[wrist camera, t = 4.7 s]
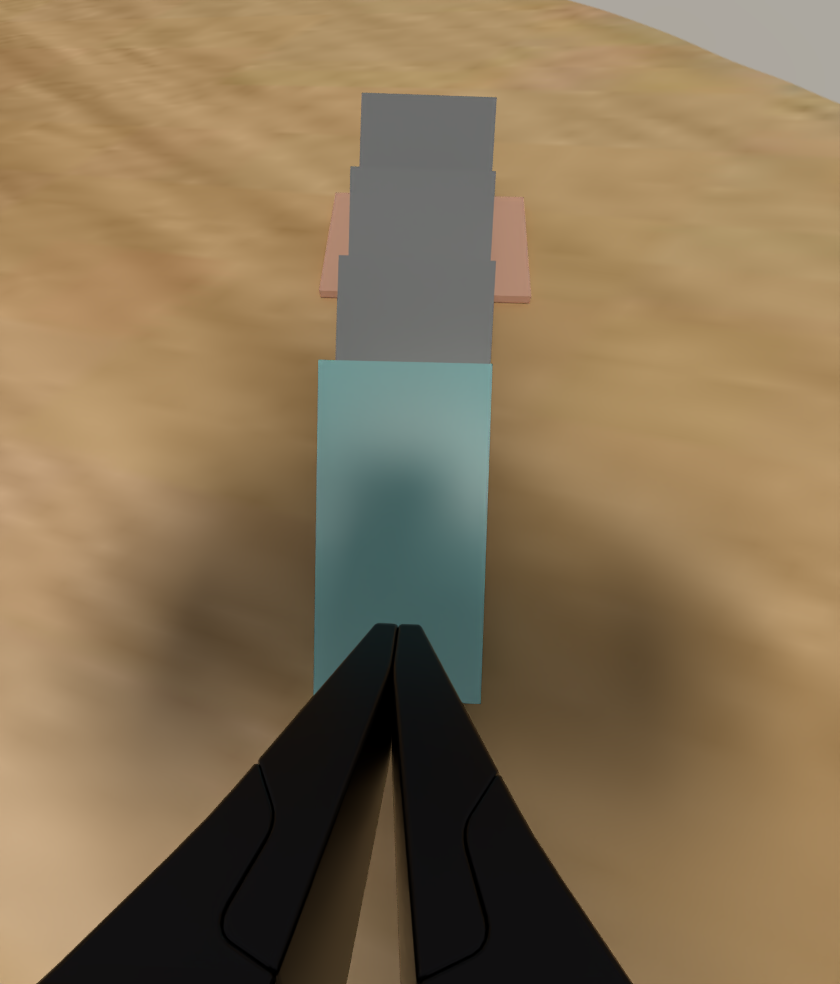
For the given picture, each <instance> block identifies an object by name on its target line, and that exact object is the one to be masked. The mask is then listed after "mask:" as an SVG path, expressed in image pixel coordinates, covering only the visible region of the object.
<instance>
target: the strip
mask: <svg viewBox="0 0 840 984" xmlns="http://www.w3.org/2000/svg"><path fill="white" fill-rule="evenodd" d="M349 212H350V193H335V199H334V205H333V211H332V217H331V223H330V229H329V235H328V241H327V247H326V252H325V258H324V264H323V270H322V276H321V282H320V288H319V292H320V296H321V297H333V298H337V295H338V261H339V255H349ZM491 261H496V271H495V289H494V302H510V303H529V302H530V299H531V287H530V274H529V261H528V248H527V235H526V222H525V209H524V197H497V196H494V211H493V228H492V246H491Z"/></svg>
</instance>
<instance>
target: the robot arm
mask: <svg viewBox="0 0 840 984" xmlns="http://www.w3.org/2000/svg"><path fill="white" fill-rule="evenodd" d="M391 745H392V781H393V807H394V832H395V857H396V883H397V908H398V934H399V959H400V984H633V983H632V982H631V980H630V979H629V977H628V976H627V974H626V973H625V971H624V970H623V968H622V967H621V965H620V964H619V963H618V961H617V960H616V958H615V957H614V955H613V954H612V952H611V951H610V949H609V948H608V946H607V945H606V943H605V942H604V940H603V939H602V937H601V936H600V934H599V933H598V931H597V930H596V928H595V927H594V926H593V924H592V923H591V921H590V920H589V918H588V917H587V915H586V914H585V912H584V911H583V909H582V908H581V906H580V905H579V903H578V902H577V900H576V899H575V897H574V896H573V894H572V893H571V892H570V890H569V889H568V887H567V886H566V884H565V883H564V881H563V880H562V878H561V877H560V875H559V874H558V872H557V870H556V869H555V867H554V866H553V864H552V863H551V861H550V860H549V858H548V856H547V855H546V853H545V852H544V850H543V849H542V847H541V846H540V844H539V842H538V841H537V839H536V838H535V836H534V835H533V833H532V831H531V829H530V828H529V826H528V824H527V822H526V820H525V819H524V817H523V815H522V813H521V812H520V810H519V808H518V806H517V805H516V803H515V801H514V799H513V798H512V796H511V794H510V792H509V790H508V788H507V786H506V784H505V782H504V781H503V779H502V777H501V776H500V775H498V770H497V768H496V766H495V764H494V762H493V760H492V758H491V756H490V755H489V753H488V751H487V749H486V747H485V745H484V743H483V741H482V739H481V738H480V736H479V734H478V732H477V730H476V728H475V726H474V724H473V722H472V721H471V719H470V717H469V715H468V713H467V711H466V709H465V707H464V705H463V704H462V702H461V700H460V698H459V696H458V694H457V692H456V690H455V688H454V687H453V685H452V683H451V681H450V679H449V677H448V675H447V673H446V671H445V670H444V668H443V666H442V664H441V662H440V660H439V658H438V656H437V655H436V653H435V651H434V649H433V647H432V645H431V643H430V641H429V639H428V638H427V636H426V634H425V632H424V630H423V628H422V627H421V626H420V625H418V624H401V625H399V627H398V626H397V625H396V624H394V623H376V624H375V625H374V626H373V627H372V628H371V629H370V631H369V632H368V633H367V634H366V635H365V636H364V637H363V639H362V640H361V641H360V642H359V643H358V644H357V646H356V647H355V648H354V649H353V650H352V651H351V653H350V654H349V655H348V656H347V657H346V658H345V660H344V661H343V662H342V663H341V664H340V665H339V667H338V668H337V669H336V670H335V671H334V672H333V674H332V675H331V676H330V677H329V678H328V679H327V681H326V682H325V683H324V684H323V685H322V686H321V688H320V689H319V690H318V691H317V692H316V693H315V695H314V696H313V697H312V698H311V699H310V700H309V702H308V703H307V704H306V705H305V706H304V707H303V708H302V710H301V711H300V712H299V713H298V714H297V715H296V717H295V718H294V719H293V720H292V721H291V722H290V724H289V725H288V726H287V727H286V728H285V729H284V731H283V732H282V733H281V734H280V735H279V736H278V738H277V739H276V740H275V741H274V742H273V743H272V745H271V746H270V747H269V748H268V749H267V750H266V752H265V753H264V754H263V755H262V756H261V757H260V758H259V760H258V764H254V765H253V766H252V767H251V769H250V770H249V771H248V772H247V773H246V774H245V776H244V777H243V778H242V779H241V780H240V781H239V783H238V784H237V785H236V786H235V787H234V788H233V789H232V790H231V792H230V793H229V794H228V795H227V796H226V797H225V798H224V799H223V800H222V802H221V803H220V804H219V805H218V806H217V807H216V808H215V809H214V810H213V812H212V813H211V814H210V815H209V816H208V817H207V818H206V819H205V820H204V821H203V822H202V823H201V824H200V825H199V826H198V827H197V828H196V829H195V830H194V831H193V832H192V833H191V834H190V835H189V836H188V837H187V838H186V839H185V840H184V841H183V842H182V843H181V844H180V845H179V846H178V847H177V848H176V849H175V850H174V851H173V852H172V853H171V854H170V856H169V857H168V858H167V859H165V860H164V861H163V862H162V863H161V864H160V865H159V866H158V867H157V868H156V869H155V870H154V871H153V872H152V873H151V874H150V875H149V876H148V877H147V878H146V879H145V880H144V881H143V882H142V883H141V884H140V885H139V886H138V887H137V888H136V889H135V890H134V891H133V892H132V893H131V894H129V895H128V896H127V897H126V898H125V899H124V900H123V901H122V902H121V903H120V904H119V905H118V906H117V907H116V908H115V909H114V910H113V911H112V912H111V913H110V914H109V915H108V916H107V917H106V918H105V919H104V920H103V921H102V922H101V923H100V924H99V925H98V926H97V927H96V928H95V929H94V930H92V931H91V932H90V933H89V934H88V935H87V936H86V937H85V938H84V939H83V940H82V941H81V942H80V943H79V944H78V945H77V946H76V947H75V948H74V949H73V950H72V951H71V952H70V953H69V954H68V955H67V956H66V957H65V958H64V959H63V960H62V961H61V962H60V963H58V964H57V965H56V966H55V967H54V968H53V969H52V970H51V971H50V972H49V973H48V974H47V975H46V976H44V977H43V978H42V979H41V980H40V981H39V982H38V983H37V984H346V983H347V977H348V972H349V967H350V962H351V957H352V952H353V947H354V941H355V936H356V931H357V926H358V921H359V916H360V910H361V905H362V900H363V895H364V890H365V885H366V880H367V874H368V869H369V864H370V859H371V854H372V849H373V844H374V838H375V833H376V828H377V823H378V818H379V813H380V808H381V802H382V797H383V792H384V787H385V782H386V777H387V772H388V766H389V760H390V754H391Z"/></svg>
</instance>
